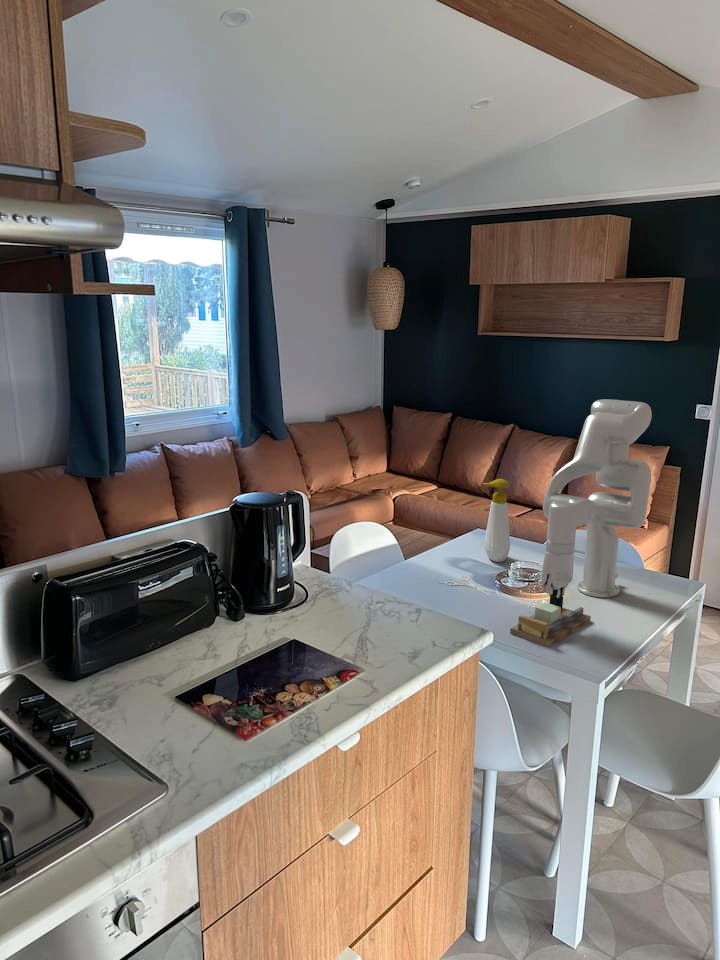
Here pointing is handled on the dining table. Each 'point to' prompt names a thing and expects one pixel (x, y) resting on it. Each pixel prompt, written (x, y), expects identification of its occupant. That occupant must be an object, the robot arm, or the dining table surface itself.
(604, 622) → the dining table surface
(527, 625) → the track
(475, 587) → the scissors
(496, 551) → the spray bottle
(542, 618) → the pale green cube
